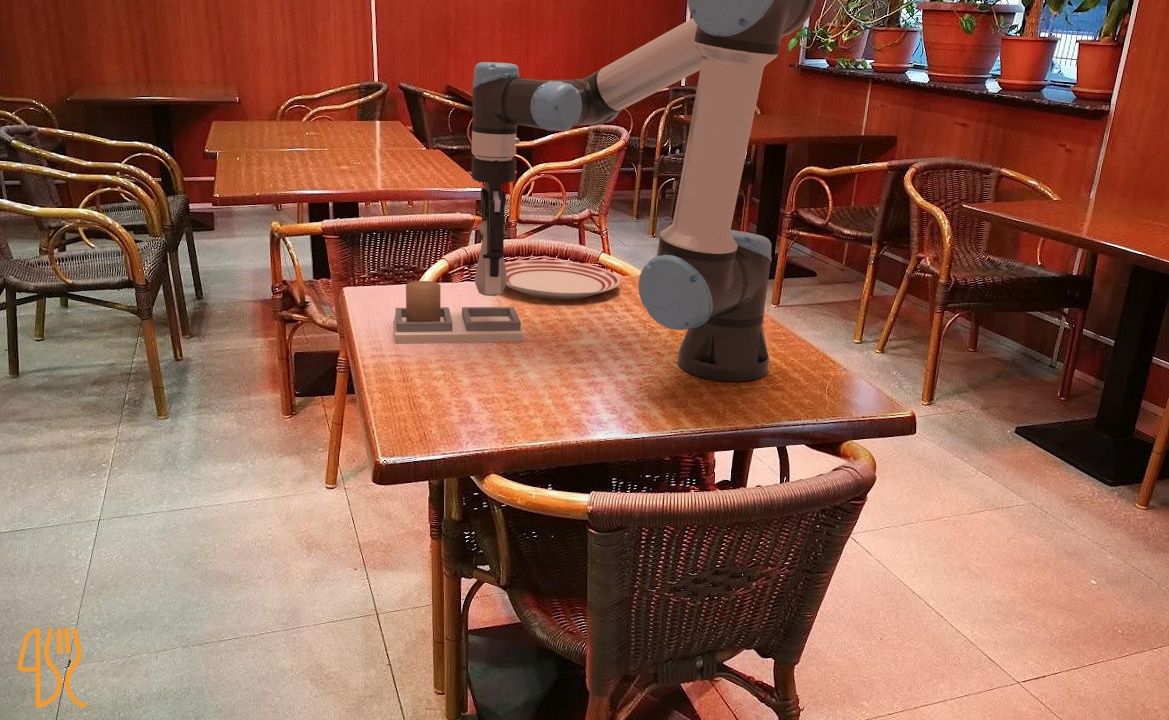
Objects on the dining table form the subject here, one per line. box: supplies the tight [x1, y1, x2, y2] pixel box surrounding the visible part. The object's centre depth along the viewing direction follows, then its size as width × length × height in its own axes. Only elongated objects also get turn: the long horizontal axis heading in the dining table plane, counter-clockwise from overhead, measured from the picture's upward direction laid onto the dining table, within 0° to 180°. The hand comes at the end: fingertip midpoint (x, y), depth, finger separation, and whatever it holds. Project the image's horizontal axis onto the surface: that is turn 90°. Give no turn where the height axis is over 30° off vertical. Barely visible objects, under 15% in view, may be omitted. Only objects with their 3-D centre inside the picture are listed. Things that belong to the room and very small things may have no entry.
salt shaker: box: [474, 220, 507, 297], centre depth 167 cm, size 6×6×13 cm
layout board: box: [393, 280, 524, 345], centre depth 169 cm, size 13×22×8 cm, turn 101°
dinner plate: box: [505, 259, 621, 300], centre depth 201 cm, size 27×27×3 cm
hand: (490, 288), depth 169 cm, fingers closed on salt shaker, 6 cm apart
